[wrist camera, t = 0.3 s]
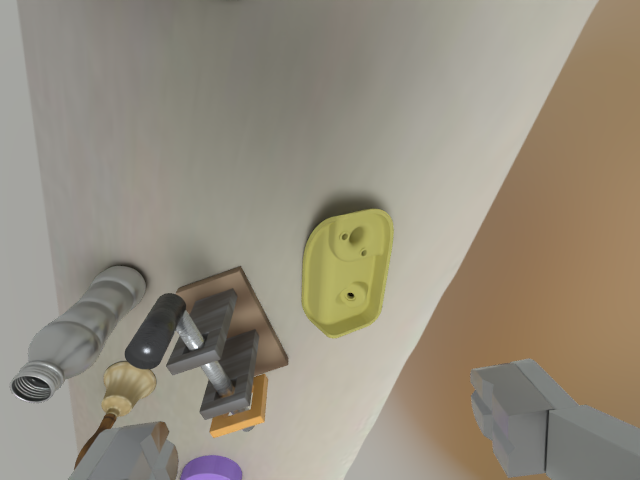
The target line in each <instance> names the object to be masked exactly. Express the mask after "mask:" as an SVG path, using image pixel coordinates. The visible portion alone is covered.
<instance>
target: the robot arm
mask: <svg viewBox="0 0 640 480" xmlns="http://www.w3.org/2000/svg"><path fill="white" fill-rule="evenodd" d="M470 375H471V377H470V378H471V383H472V385H473V386H474V388H475V391H474V393H473V394H472V395H471V400H472V408H473V412H474V415H475V419H476V421H477V423H478V426H479V428H480V430H481V431H482V433H483V435H484V436H485V437H487V438H489V439H490V440H492V441H493V452H494V454H495V456H496V458H497V459H498V461H499V463H500V464H501V466H502V468H503V469H504V471H505V473H506V475H507V476H508V478H510V477H517V476H525V475H532V474H541V473H546V475H547V476H548V477H549V478H551V479H552V480H640V429H639V428H637V427H635V426H633V425H630V424H628V423H626V422H624V421H621V420H619V419H617V418H615V417H612V416H610V415H608V414H606V413H603V412H601V411H599V410H597V409H594V408H592V407H590V406H588V405H580V406H579V405H578V404H577V403H576V402H575V401H574V400H573V399H572V398H571V397H570V396H569V395H568V394H567V393H566V392H565V391H564V390H563V389H562V388H561V387H560V386H559V385H558V384H557V383H556V382H555V381H554V380H553V379H552V378H551V377H550V376H549V375H548V374H547V373H546V372H545V371H544V370H543V369H542V368H541V367H540V366H539V365H538V364H537V363H536V362H535V361H534V360H532V359H525V360H520V361H514V362H510V363H505V364H499V365H493V366H488V367H482V368H476V369H472V370H471V374H470ZM168 434H169V430H168V428H167V426H166V423H165V422H161V421H159V422H151V423H144V424H137V425H130V426H124V427H119V428H112V429H106V430H104V431H103V432H101V433H100V434H99V435H98V437H97V438H96V439H95V441H94V442H93V444H92V445H91V447H90V448H89V450H88V451H87V453H86V454H85V455H84V457H83V458H82V460H81V461H80V463H79V464H78V466H77V467H76V469H75V470H74V471H73V473H72V474H71V476H70V477H69V479H68V480H175V479H176V476H177V470H178V462H179V461H178V453H177V450H176V447H175V445H174V444H173V443H171V442H170V441H168V440H167V436H168Z"/></svg>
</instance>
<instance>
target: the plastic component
mask: <svg viewBox="0 0 640 480" xmlns="http://www.w3.org/2000/svg"><path fill="white" fill-rule="evenodd" d="M393 233H394V229H393V222H392V219H391V217H390V216H389V215H388V214H387V213H386V212H385V211H383V210H380V209H365V210H360V211H356V212H352V213H348V214H344V215H339V216H334V217H331V218H328V219H326V220H324V221H323V222H321V223H320V224H319V225H318V226H317V227H316V228H315V229H314V230H313V232H312V233H311V235H310V237H309V239H308V241H307V244H306V247H305V251H304V256H303V270H302V307H303V310H304V312H305V314H306V316H307V317H308V319H309V320H310V321H311V322H312V323H313V324H314V325H315V326H316V327H317V328H319V329H320V330H321V331H322V332H323V333H324V334H325V335H326V336H327V337H329V338H338V337H341V336H343V335H346V334H349V333H351V332H354V331H356V330H359V329H362V328H364V327H367V326H369V325H371V324H372V323H373V322H374V321H375V320H376V319H377V318H378V317H379V315H380V313H381V309H382V304H383V298H384V292H385V286H386V280H387V274H388V268H389V262H390V256H391V250H392V244H393ZM362 251H363V252H362ZM348 293H353V294H354V296H353V297H351V296H349V295H348Z"/></svg>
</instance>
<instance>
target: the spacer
mask: <svg viewBox="0 0 640 480" xmlns="http://www.w3.org/2000/svg"><path fill="white" fill-rule="evenodd" d="M267 386H268V378H267V377H266V375H265V374H262V375H259V376H256V377H254V379H253V386H252V392H253V397H252V405H251V409H250V410H247V411H244V412H241V413H238V414H234V415H231V416H228V414H229V413H226V414H223V415H219V416H216V417H213V419H212V424H211V428H210V434H211V435H212V436H213V438H215V437H219V436H222V435H225V434H228V433H231V432H234V431H238V430H241V429H244V428H247V427H250V426H253V425H257V424H260V423H263V422H264V421H265V409H266V398H267Z"/></svg>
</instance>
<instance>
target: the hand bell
mask: <svg viewBox="0 0 640 480" xmlns="http://www.w3.org/2000/svg"><path fill="white" fill-rule="evenodd" d="M104 384H105V386H106V393H105V396H104V398H103V401H102V409H103V410H104V412H106V415H105V416H104V418H103V420H102V422H101V424H100V426H99V428H98V430H97V431H96V433H95V434H94V435H93V436H92V437H91V438H90V439H89V440H88V441H87V443H86V444H85V445H84V447H83V448H82V450H81V451H80V453H79V455H78V457H77V460H76V463H75V468H74V470H75V469H76V467H77V466H78V464H79V463H80V461H81V460H82V458H83V457H84V455H85V454H86V453H87V451H88V450H89V448H90V447H91V445H92V444H93V442H94V441H95V439H96V438H97V437H98V435H99V434H100V433H101V432H103V431H104V430H106V429H111V427H112V426H113V424H114V422H115V421H116V418H117V417H118V416H124V415H126V414H128V413H129V412H130V411H131V410H132V408H133V407H134V405H135V404H136V403H137V401H138V400H139V399H142V398H145V397H146V396H148V395H149V394H151V393H152V392H153V391H154V389H155V387H156V378H155V376H154V374H153V373H152V371H151V370H150V369H139V368H136V367H134V366H132V365H131V364H129V363H128V362H119V363H115V364H113V365H112V366H110V367H109V368H108V369H107V370H106V372H105V374H104Z"/></svg>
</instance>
